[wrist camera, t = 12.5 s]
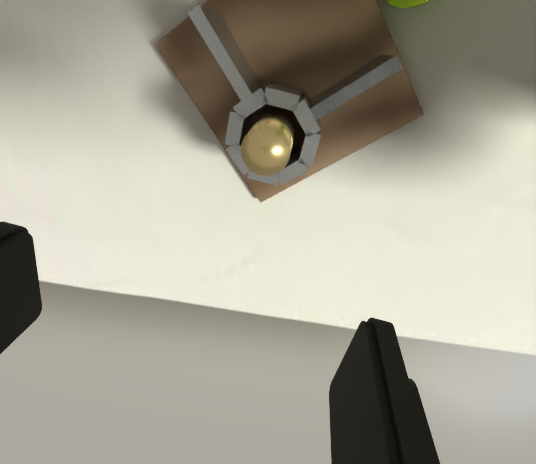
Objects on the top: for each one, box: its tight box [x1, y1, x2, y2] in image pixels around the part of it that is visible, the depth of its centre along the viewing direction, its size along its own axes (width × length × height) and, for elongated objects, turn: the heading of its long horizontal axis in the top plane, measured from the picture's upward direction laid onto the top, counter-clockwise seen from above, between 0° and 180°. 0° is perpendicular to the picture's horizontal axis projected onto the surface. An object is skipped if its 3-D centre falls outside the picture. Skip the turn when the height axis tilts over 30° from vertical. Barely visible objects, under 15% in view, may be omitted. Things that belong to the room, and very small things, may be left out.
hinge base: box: [156, 0, 423, 202], centre depth 32 cm, size 18×18×1 cm
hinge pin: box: [241, 106, 296, 176], centre depth 29 cm, size 4×4×10 cm
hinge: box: [188, 4, 402, 186], centre depth 28 cm, size 15×15×6 cm
